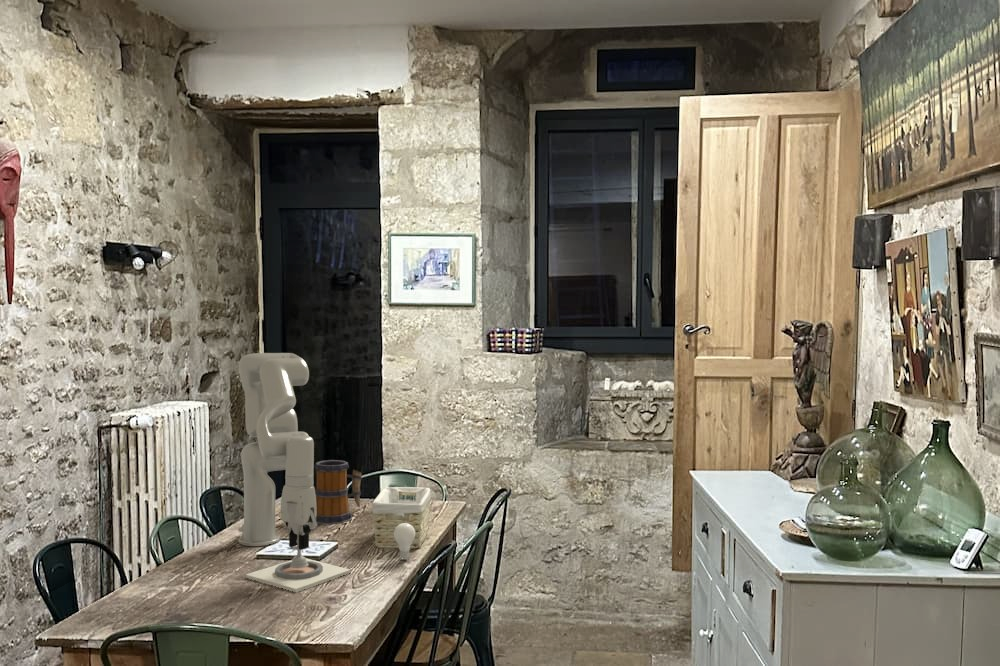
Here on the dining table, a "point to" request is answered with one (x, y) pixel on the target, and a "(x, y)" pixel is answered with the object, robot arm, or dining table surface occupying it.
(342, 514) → the mug
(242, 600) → the dining table surface
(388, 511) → the storage basket
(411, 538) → the lightbulb
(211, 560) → the dining table surface
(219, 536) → the dining table surface
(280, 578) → the seat board
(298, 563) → the chalice
